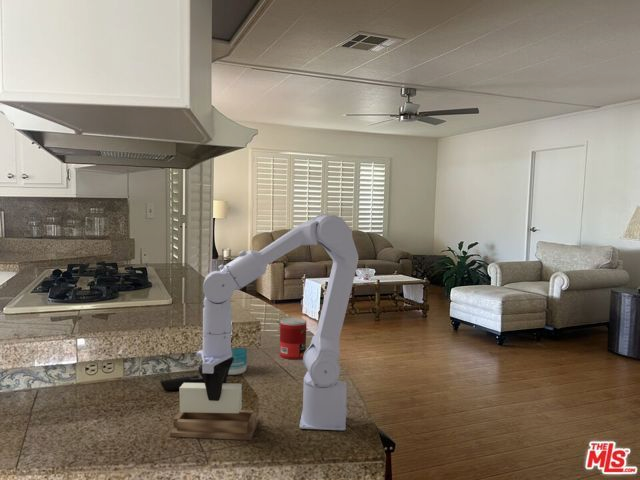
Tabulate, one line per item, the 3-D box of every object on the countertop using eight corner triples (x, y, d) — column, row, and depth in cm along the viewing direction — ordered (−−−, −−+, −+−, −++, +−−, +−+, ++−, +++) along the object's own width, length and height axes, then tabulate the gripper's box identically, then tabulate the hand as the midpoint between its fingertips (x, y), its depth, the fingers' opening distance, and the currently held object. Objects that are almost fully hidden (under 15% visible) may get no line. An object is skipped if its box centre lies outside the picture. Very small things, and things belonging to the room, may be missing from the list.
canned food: (305, 360, 150) (306, 323, 149) (278, 359, 150) (279, 323, 149) (306, 352, 157) (307, 318, 157) (280, 351, 157) (281, 317, 157)
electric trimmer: (158, 390, 124) (158, 377, 124) (220, 380, 131) (220, 369, 131) (161, 395, 121) (161, 382, 121) (224, 385, 128) (224, 373, 128)
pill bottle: (252, 370, 139) (252, 322, 138) (233, 377, 133) (234, 327, 132) (231, 365, 143) (232, 318, 142) (213, 372, 137) (213, 323, 136)
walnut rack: (258, 420, 107) (258, 408, 107) (250, 440, 98) (251, 427, 98) (184, 417, 108) (184, 405, 108) (170, 436, 99) (170, 423, 99)
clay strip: (241, 407, 104) (241, 383, 104) (238, 413, 101) (238, 388, 101) (184, 406, 105) (183, 382, 104) (179, 412, 102) (179, 387, 101)
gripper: (207, 321, 109) (206, 383, 110) (186, 339, 95) (186, 410, 96) (239, 323, 109) (238, 384, 110) (224, 341, 94) (222, 411, 95)
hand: (216, 396), depth 103 cm, fingers closed on clay strip, 3 cm apart
